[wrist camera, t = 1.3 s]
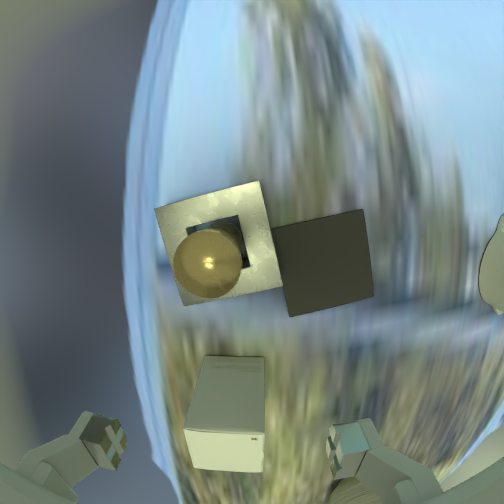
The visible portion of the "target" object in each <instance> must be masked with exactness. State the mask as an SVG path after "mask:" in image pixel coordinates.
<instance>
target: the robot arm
mask: <svg viewBox="0 0 504 504" xmlns="http://www.w3.org/2000/svg"><path fill="white" fill-rule="evenodd" d="M479 288H480V293H481V296H482V298H483V300H484V301H485V302H486V303H487V304H489V305H491V306H492V307H493V310H494V312H495V313H496V314H498V315H500V314H502V313H504V215H502V216H501V218H500V220H499V224H498V227H497V230H496V232H495V234H494V236H493V237H492V239H491V240H490V242H489V244H488V246H487V248H486V250H485V253H484V256H483V259H482V263H481V267H480V274H479ZM120 426H121V424H120V422H119V420H118V419H115V418H110V417H106V416H103V415H98V414H95V413H91V412H87V411H85V412H83V413H82V415H81V416H80V418H79V419H78V421H77V422H76V424H75V425H74V427H73V428H72V430H71V432H70V433H69V435H63V436H61V437H59V438H57V439H55V440H53V441H51V442H49V443H47V444H44V445H42V446H40V447H37V448H35V449H33V450H31V451H28V452H26V454H25V455H24V457H23V458H22V460H21V461H20V463H19V464H18V466H17V467H16V469H15V470H12V469H11V468H9V467H8V466H6V465H4V464H3V463H1V462H0V504H79V503H76V501H77V499H78V496H77V495H76V493H75V492H73V490H72V489H71V488H70V487H72V486H73V485H74V484H76V483H78V482H79V481H80V480H82V479H83V478H85V477H86V476H87V475H89V474H90V473H91V472H93V471H94V470H96V469H97V468H98V466H99V467H103V468H107V469H111V470H115V471H116V470H117V468H118V465H119V463H120V461H121V459H120V456H119V455H120V454H122V453H123V452H124V451H125V448H126V443H127V440H126V435H125V433H124V431H122V430H121V429H120ZM329 431H330V436H329V437H328V438H327V443H326V450H327V456H328V459H329V460H331V461H332V464H331V467H330V468H331V471H332V475H333V479H334V480H336V479H342V478H348V477H353V476H355V478H357V479H358V480H359V481H360V482H361V483H363V484H364V485H365V486H366V487H368V488H369V489H370V490H371V491H372V492H374V493H375V494H376V495H378V496H379V497H380V498H381V499H383V500H384V501H383V503H382V504H504V457H502V458H501V459H500V460H498V461H497V462H495V463H494V464H492V465H491V466H489V467H488V468H486V469H484V470H483V471H481V472H480V473H478V474H476V475H475V476H473V477H471V478H469V479H468V480H466V481H464V482H462V483H460V484H459V485H457V486H455V487H453V488H451V489H449V490H447V491H445V492H443V490H442V488H441V486H440V484H439V483H438V481H437V479H436V477H435V475H434V473H433V471H432V470H431V469H429V468H427V467H426V466H424V465H422V464H420V463H418V462H416V461H414V460H412V459H410V458H408V457H406V456H405V455H403V454H401V453H399V452H397V451H396V450H394V449H392V448H390V447H389V446H385V447H384V445H383V443H382V441H381V439H380V437H379V435H378V433H377V431H376V429H375V427H374V424H373V422H372V420H371V419H370V418H367V419H362V420H357V421H356V420H355V421H350V422H345V423H339V424H332V425H331V426H330V430H329Z"/></svg>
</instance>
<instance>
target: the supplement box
mask: <svg viewBox="0 0 504 504" xmlns="http://www.w3.org/2000/svg"><path fill="white" fill-rule="evenodd" d="M183 429H184V433H185V437H186V441H187V445H188V448H189V452H190V456H191V459H192V462H193V466H194V468H200V469H209V470H223V471H237V472H262V471H263V459H264V440H265V360H264V357H227V356H205V358H204V361H203V364H202V368H201V371H200V374H199V378H198V381H197V384H196V388H195V391H194V394H193V398H192V401H191V404H190V407H189V411H188V414H187V417H186V421H185V424H184V428H183Z"/></svg>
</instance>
